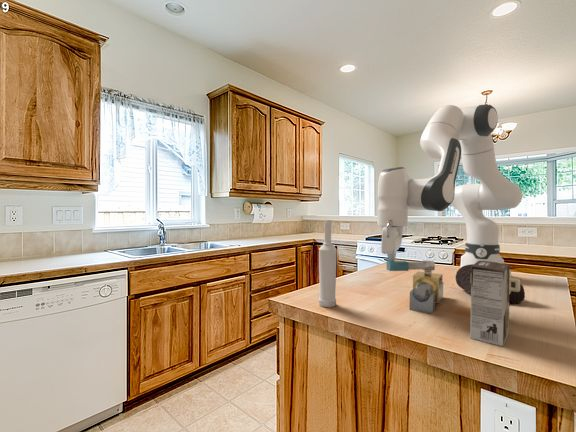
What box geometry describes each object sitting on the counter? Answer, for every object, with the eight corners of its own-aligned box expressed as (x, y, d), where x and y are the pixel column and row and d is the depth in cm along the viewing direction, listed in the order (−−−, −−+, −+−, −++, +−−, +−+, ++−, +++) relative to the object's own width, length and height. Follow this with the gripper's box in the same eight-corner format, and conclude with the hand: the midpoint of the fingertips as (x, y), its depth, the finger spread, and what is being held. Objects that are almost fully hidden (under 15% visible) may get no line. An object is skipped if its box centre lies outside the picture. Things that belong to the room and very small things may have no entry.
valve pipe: (421, 293, 103) (422, 264, 102) (445, 297, 99) (445, 266, 98) (407, 309, 86) (407, 275, 86) (434, 314, 82) (435, 278, 82)
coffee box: (476, 326, 74) (478, 260, 74) (509, 333, 70) (511, 263, 69) (468, 338, 67) (470, 265, 67) (504, 347, 63) (506, 269, 62)
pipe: (527, 281, 89) (503, 263, 103) (470, 281, 92) (455, 264, 107) (525, 312, 91) (502, 290, 105) (469, 311, 94) (455, 290, 109)
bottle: (338, 307, 88) (339, 220, 88) (321, 308, 87) (322, 220, 87) (332, 301, 93) (333, 219, 93) (316, 302, 92) (316, 219, 92)
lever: (430, 268, 94) (430, 260, 94) (437, 270, 90) (437, 262, 90) (385, 268, 93) (385, 260, 93) (390, 271, 89) (390, 262, 89)
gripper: (400, 221, 83) (399, 272, 83) (405, 219, 102) (405, 260, 102) (376, 221, 86) (375, 270, 86) (385, 218, 104) (385, 259, 105)
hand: (391, 264), depth 94 cm, fingers closed
